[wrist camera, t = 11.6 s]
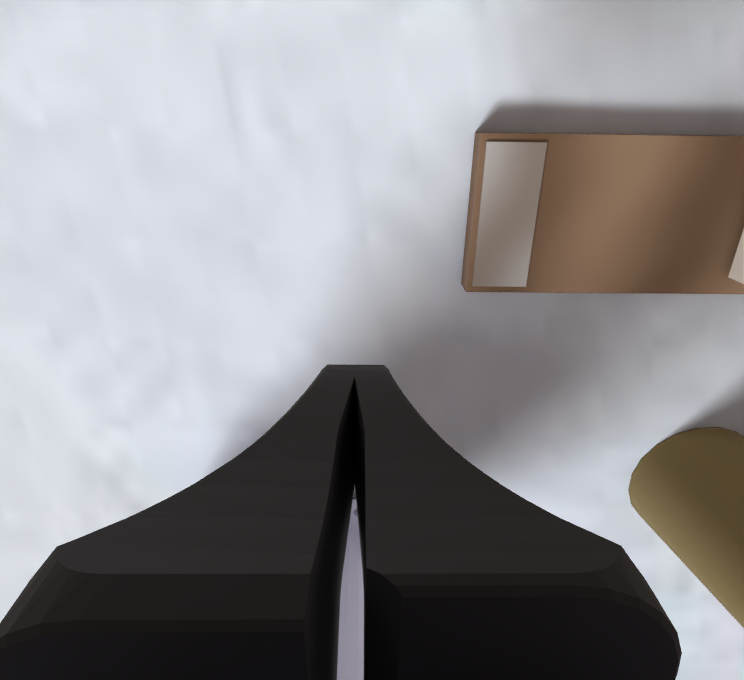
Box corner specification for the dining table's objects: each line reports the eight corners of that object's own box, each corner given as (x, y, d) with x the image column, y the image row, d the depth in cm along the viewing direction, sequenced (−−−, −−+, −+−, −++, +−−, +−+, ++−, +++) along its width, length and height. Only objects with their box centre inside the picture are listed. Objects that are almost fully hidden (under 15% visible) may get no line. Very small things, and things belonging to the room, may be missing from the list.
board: (461, 283, 20) (466, 292, 19) (475, 132, 17) (481, 133, 16) (835, 286, 20) (860, 295, 19) (898, 138, 17) (930, 139, 16)
